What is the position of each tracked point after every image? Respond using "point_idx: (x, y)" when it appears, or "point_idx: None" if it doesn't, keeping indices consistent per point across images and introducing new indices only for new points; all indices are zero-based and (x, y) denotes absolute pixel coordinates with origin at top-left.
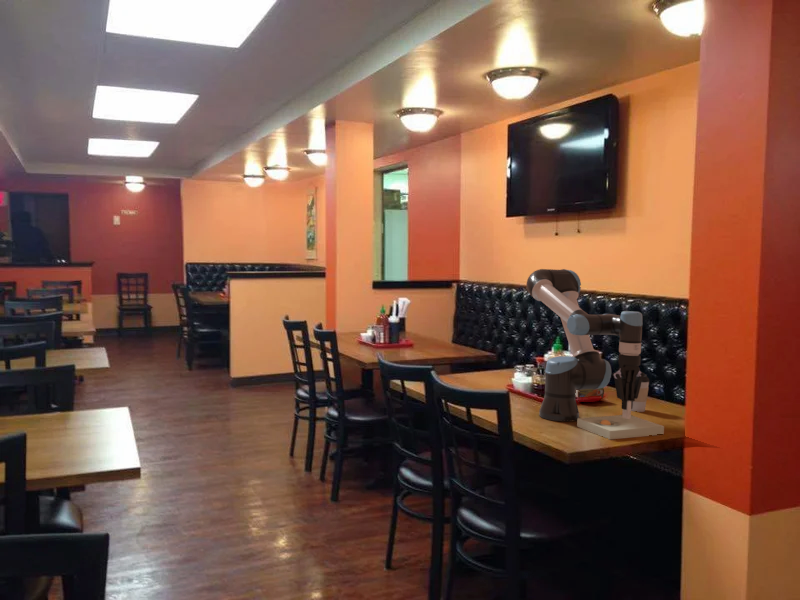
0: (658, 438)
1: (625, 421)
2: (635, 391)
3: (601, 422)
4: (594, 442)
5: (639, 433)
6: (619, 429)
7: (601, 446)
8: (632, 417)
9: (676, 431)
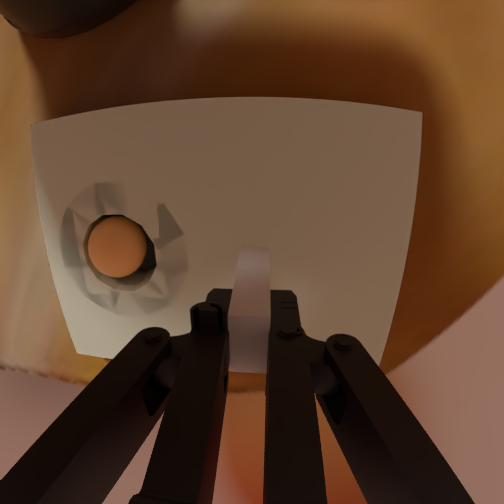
0: None
1: None
2: (338, 427)
3: (88, 249)
4: (36, 334)
5: None
6: None
7: (45, 366)
8: (383, 183)
9: (454, 319)
